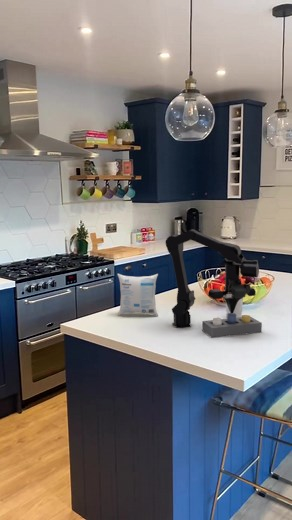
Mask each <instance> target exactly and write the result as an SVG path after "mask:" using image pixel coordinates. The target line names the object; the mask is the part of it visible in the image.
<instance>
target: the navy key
mask: <svg viewBox="0 0 292 520" xmlns="http://www.w3.org/2000/svg"><path fill="white" fill-rule="evenodd" d="M226 319H227V323H228V324H236V314H235V313H228V314H227V316H226Z"/></svg>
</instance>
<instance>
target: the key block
mask: <svg viewBox="0 0 292 520" xmlns="http://www.w3.org/2000/svg"><path fill="white" fill-rule="evenodd" d="M221 319H222V325H217V326H214V325H213V319H210V320H209V319H208V320H201V321H202V326H201V329H202V331H203V333H206V335H208V336H209V337H210V338H212V339H215V338H220V337H222V338H223V337H230V336H231V337H232V336H240V335H241V336H242V335H246V334H247V335H249V334H257V333H258V334H259V333H262V331H263V330H262V328H263V327H262V326H263V324H262V322H261V321H259V320H257V319H255V318H253V316H250V322H245V323H243V322H242V316H241V317H238V318H236V324H228V323H227V318H221Z"/></svg>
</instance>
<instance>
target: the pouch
mask: <svg viewBox="0 0 292 520" xmlns="http://www.w3.org/2000/svg"><path fill="white" fill-rule="evenodd" d="M117 277H118V280H119V281H118V282H119V286H120V287H119V289H120V301H119V302H120V303H119V304H120V307H119V311H118V314H117V315H118V316H120V315H124V314H133V313H134V314H135V313H140V314H149V315H153V316H156V317H159V313H158V311H157V306H156V305H157V304H156V286H157V285H156V283H157V279H158V277H159V273H156V274H153V275H149V276H145V275H143V276H132V275H131V276H130V275H123V274H121V273H117Z"/></svg>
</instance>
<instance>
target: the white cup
mask: <svg viewBox="0 0 292 520" xmlns="http://www.w3.org/2000/svg"><path fill="white" fill-rule="evenodd" d="M243 303H244V297H243V298H242V299H240V300H239V301H238V302H237V304H236V307H235V309H234V312H233V313H235V314H236V318H238V317H242V314H243V313H242V312H243V305H244V304H243ZM225 312H226V313H225V314H226V317H227V314H228V313H230V311H229V308H228V306H227V303H226V302H225Z"/></svg>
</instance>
